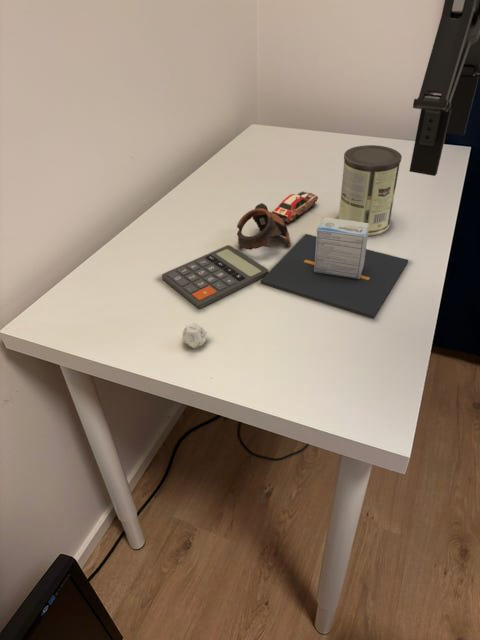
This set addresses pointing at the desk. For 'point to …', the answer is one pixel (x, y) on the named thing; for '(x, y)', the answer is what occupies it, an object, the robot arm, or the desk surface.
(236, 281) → the calculator
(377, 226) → the coffee can
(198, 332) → the game die
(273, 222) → the brown looped frame
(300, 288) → the mat
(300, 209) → the race car
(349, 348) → the desk surface
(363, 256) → the medicine box
